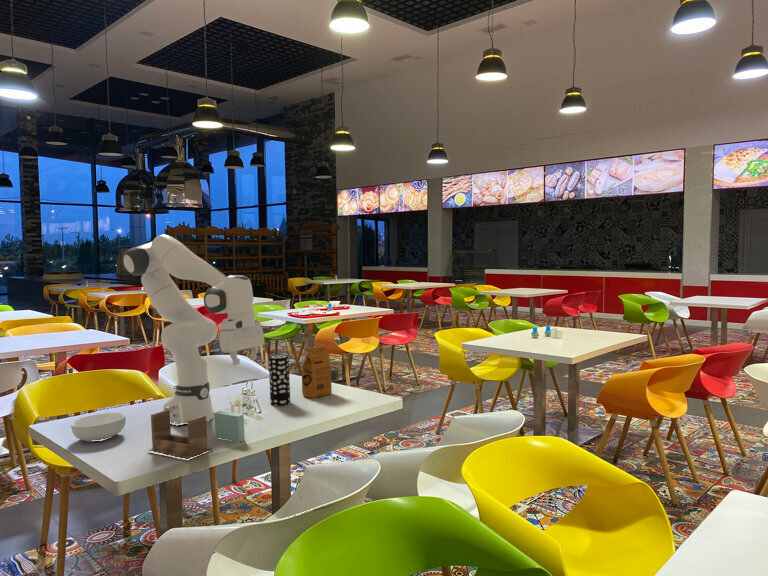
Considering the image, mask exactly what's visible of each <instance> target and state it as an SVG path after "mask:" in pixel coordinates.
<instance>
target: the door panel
mask: <svg viewBox="0 0 768 576" xmlns="http://www.w3.org/2000/svg"><path fill="white" fill-rule="evenodd" d="M244 418H245V417H244V414H243V413H236V412H230V411H229V412H228V411H222V410H219V411H216V412H215V411H214V418H213V419H214V433H215V434H214V436H215V437H216V438H221V439H227V440H232V441H237V442H236V443H238V442H240V441H242V442H244V441H243V440H245V438H246V437H245V422H244V421H245V419H244ZM221 439H220V440H221ZM227 440H226V441H227ZM232 441H231V442H232ZM240 443H241V442H240Z"/></svg>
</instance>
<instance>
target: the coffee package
mask: <svg viewBox="0 0 768 576" xmlns="http://www.w3.org/2000/svg"><path fill="white" fill-rule="evenodd" d="M305 351H306V356H305V360H304V361H303V364H302V367H301V394H302V396H303V397H306V398H309V399H317V398H319V397H325V396H328V395H330V394H332V391H333V390H332V367H331V360H330V359H331V358H330V356H329V353H328V350H327V348H326V345H325V344H321V345H320V346H318V347H306V348H305Z"/></svg>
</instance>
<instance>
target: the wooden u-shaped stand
mask: <svg viewBox="0 0 768 576" xmlns="http://www.w3.org/2000/svg"><path fill="white" fill-rule="evenodd" d="M150 423H151V424H150V426H151V444H152V448H150V449H148V450H149V451H154V452H158V453H163V454H166V455H171V456H175V457H180V458H185V459H189V458H191V457H194V456H197V455H200V454H202V453H204V452H207V451H210V450H212V451H213V447H209V446H208V430H207V429H208V428H207V422H206V416H205V415H203V416H200V417H197V418H194V419H191V420H188V421H187V423H188V425H187V436H186V435H179V434H173V433H172V431H171V425H170V410H165V411H163V410H161V411H158V412H156V413H152V414H150Z"/></svg>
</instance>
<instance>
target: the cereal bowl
mask: <svg viewBox="0 0 768 576" xmlns="http://www.w3.org/2000/svg"><path fill="white" fill-rule="evenodd" d="M126 418H127V417H126V414H124V413H122V412H105V413H97V414H92V415H87V416H84V417H80V418H78V419H76V420H74V421H73V422H71V423H70V425H71V426H70V427H71V432H72V434H73V436H74V437H75V438H76V439H79V440H81V441H87V442H88V441H92V440H101V439H106V438H109V437H112V436H113V437H114V436H115V435H117V434H119V433H120V432H122V431H123V429H125V426H126V421H127V420H126ZM113 437H112V438H113Z"/></svg>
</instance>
